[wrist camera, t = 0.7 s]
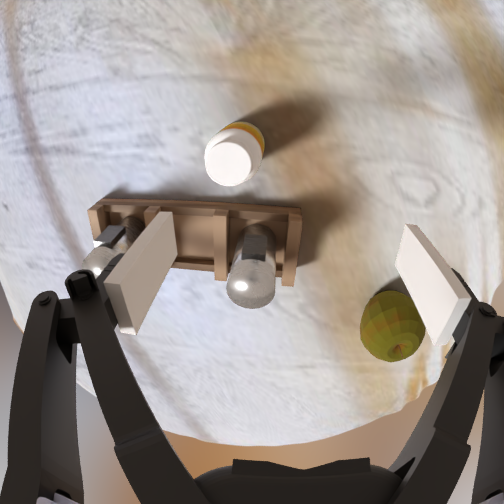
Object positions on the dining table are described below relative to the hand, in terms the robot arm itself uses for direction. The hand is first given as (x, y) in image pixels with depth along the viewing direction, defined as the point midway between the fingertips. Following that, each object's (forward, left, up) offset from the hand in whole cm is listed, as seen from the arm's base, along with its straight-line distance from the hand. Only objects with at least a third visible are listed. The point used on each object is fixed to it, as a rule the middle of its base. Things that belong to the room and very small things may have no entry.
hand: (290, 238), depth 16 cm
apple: (+21, +18, -20) cm, 34 cm away
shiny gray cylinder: (+11, -2, -19) cm, 22 cm away
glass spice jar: (+11, -19, -19) cm, 29 cm away
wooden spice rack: (+11, -11, -20) cm, 25 cm away
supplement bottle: (-1, -5, -20) cm, 21 cm away
